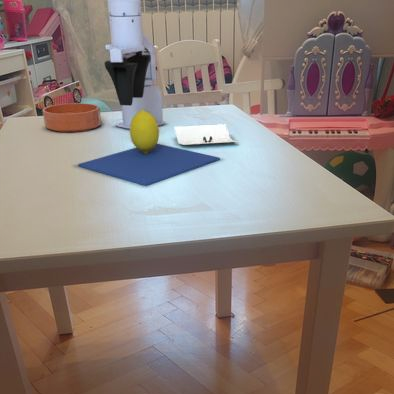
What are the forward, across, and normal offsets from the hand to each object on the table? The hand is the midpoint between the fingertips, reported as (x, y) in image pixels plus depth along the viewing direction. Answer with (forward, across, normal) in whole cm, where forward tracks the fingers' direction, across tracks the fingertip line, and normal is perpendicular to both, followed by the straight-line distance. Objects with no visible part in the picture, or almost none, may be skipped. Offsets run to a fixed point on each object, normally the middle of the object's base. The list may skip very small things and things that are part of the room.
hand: (131, 101), depth 94 cm
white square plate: (+10, -10, +13) cm, 19 cm away
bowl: (+9, -20, -21) cm, 30 cm away
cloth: (+9, +7, +5) cm, 13 cm away
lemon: (+9, +3, +3) cm, 10 cm away
